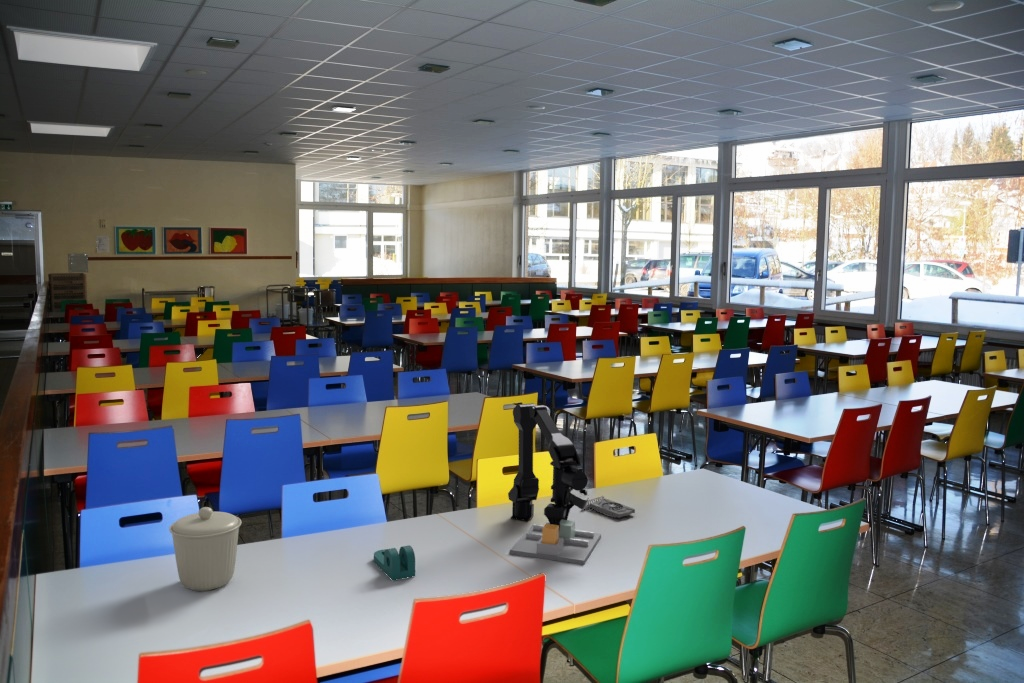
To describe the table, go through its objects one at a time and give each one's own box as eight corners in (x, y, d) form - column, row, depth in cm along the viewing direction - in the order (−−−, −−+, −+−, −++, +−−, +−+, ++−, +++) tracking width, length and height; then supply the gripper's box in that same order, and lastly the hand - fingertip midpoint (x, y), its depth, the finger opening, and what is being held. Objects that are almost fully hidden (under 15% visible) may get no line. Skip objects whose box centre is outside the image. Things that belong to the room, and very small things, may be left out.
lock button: (542, 543, 239) (542, 527, 239) (545, 539, 243) (546, 523, 243) (554, 545, 238) (555, 529, 238) (558, 541, 242) (558, 525, 241)
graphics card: (579, 501, 283) (602, 494, 291) (579, 511, 284) (602, 504, 292) (614, 514, 271) (638, 507, 278) (614, 525, 271) (637, 517, 279)
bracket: (415, 577, 223) (415, 550, 222) (392, 581, 219) (392, 554, 218) (392, 555, 238) (392, 529, 237) (370, 559, 235) (370, 533, 234)
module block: (546, 538, 251) (546, 522, 251) (550, 533, 256) (550, 517, 255) (570, 541, 249) (571, 526, 248) (574, 536, 253) (575, 521, 253)
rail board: (509, 553, 241) (510, 540, 240) (532, 528, 263) (533, 515, 263) (584, 564, 234) (584, 550, 233) (601, 537, 256) (601, 524, 256)
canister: (188, 568, 224) (186, 496, 222) (252, 571, 224) (251, 498, 221) (158, 596, 206) (156, 517, 204) (227, 598, 206) (225, 519, 204)
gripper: (579, 493, 239) (578, 543, 241) (593, 477, 257) (591, 523, 258) (544, 489, 242) (542, 538, 244) (560, 473, 260) (558, 519, 262)
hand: (560, 529), depth 252 cm, fingers open, 9 cm apart
